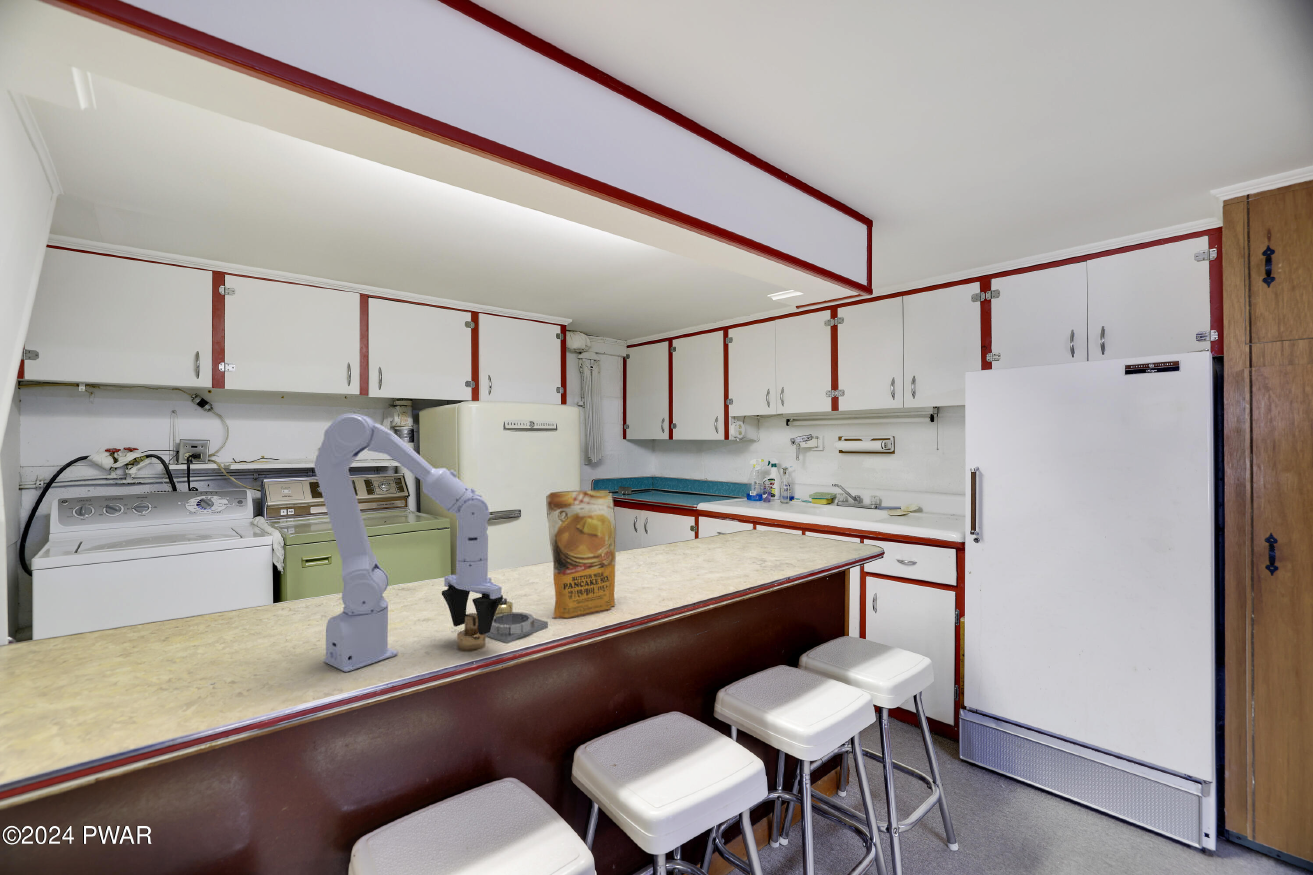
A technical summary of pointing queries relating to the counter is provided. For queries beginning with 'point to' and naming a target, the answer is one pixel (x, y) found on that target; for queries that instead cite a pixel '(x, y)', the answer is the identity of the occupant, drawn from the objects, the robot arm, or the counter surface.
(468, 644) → the gear
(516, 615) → the carrier
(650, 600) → the counter surface
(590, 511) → the pancake mix bag
